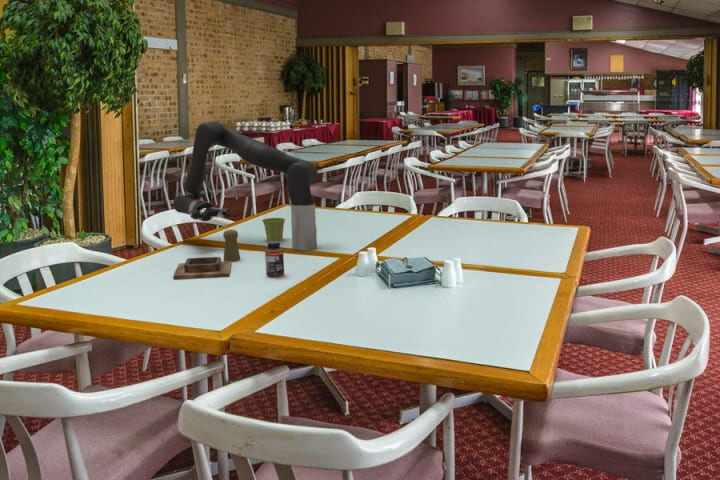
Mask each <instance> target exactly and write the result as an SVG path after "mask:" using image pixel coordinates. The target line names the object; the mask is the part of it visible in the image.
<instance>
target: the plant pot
mask: <svg viewBox="0 0 720 480" xmlns="http://www.w3.org/2000/svg"><path fill="white" fill-rule="evenodd" d="M261 221H262V223H263V225H264V230H265V235H266V240H267V242H269V241H279V242H281V241H283V236H284V225H285V221H286V218H284V217H270V218H269V217H267V218H263V219H262V220H261Z"/></svg>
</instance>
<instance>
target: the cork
mask: <svg viewBox="0 0 720 480" xmlns="http://www.w3.org/2000/svg"><path fill="white" fill-rule="evenodd" d="M222 235H223V239H224V240H225V241H224V249H223V250H224V252H223V261H231V263H234V262H239V261H241V255H240V254H241V253H240V249H239V245H238V237H239V234H238V230H236V229H228V230H227V229H226V230H225V231H223V233H222Z"/></svg>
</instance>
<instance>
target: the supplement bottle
mask: <svg viewBox="0 0 720 480" xmlns="http://www.w3.org/2000/svg"><path fill="white" fill-rule="evenodd" d="M264 253H265V255H264V257H265V258H264V259H265V274H266V276H267V277H270V278H278V277H279V278H280V277H282V276H284V275H285V262H284V261H285V259H284V249H283V247H281V241H267V247H266V248H265V250H264Z"/></svg>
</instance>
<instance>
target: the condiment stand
mask: <svg viewBox="0 0 720 480" xmlns="http://www.w3.org/2000/svg"><path fill="white" fill-rule="evenodd" d="M231 268H232V262H231V261H224V260H223V261H222V258H221V256H205V257H204V256H203V257H189V258H186V260H185V262H181V263H178V264H177V267H176V269H175V271H174V274H173V275H172V277H173V280H190V279H191V280H192V279H209V278H210V279H212V278H214V279H215V278H230V275H231Z"/></svg>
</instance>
